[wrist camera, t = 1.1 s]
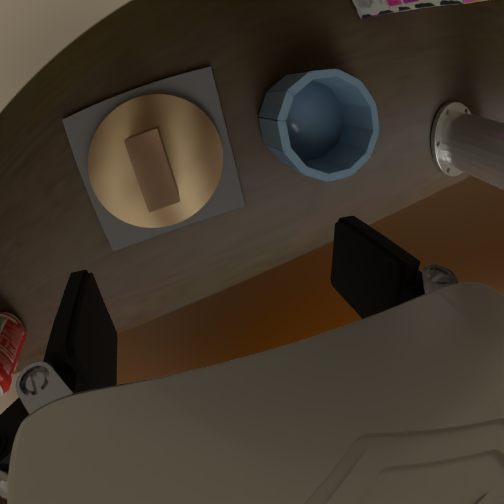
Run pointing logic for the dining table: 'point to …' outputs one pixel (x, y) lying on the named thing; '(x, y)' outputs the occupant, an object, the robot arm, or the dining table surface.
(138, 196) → the lid
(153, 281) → the dining table surface
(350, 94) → the bowl
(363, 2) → the candy bar box
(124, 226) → the mat
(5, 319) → the beverage can
